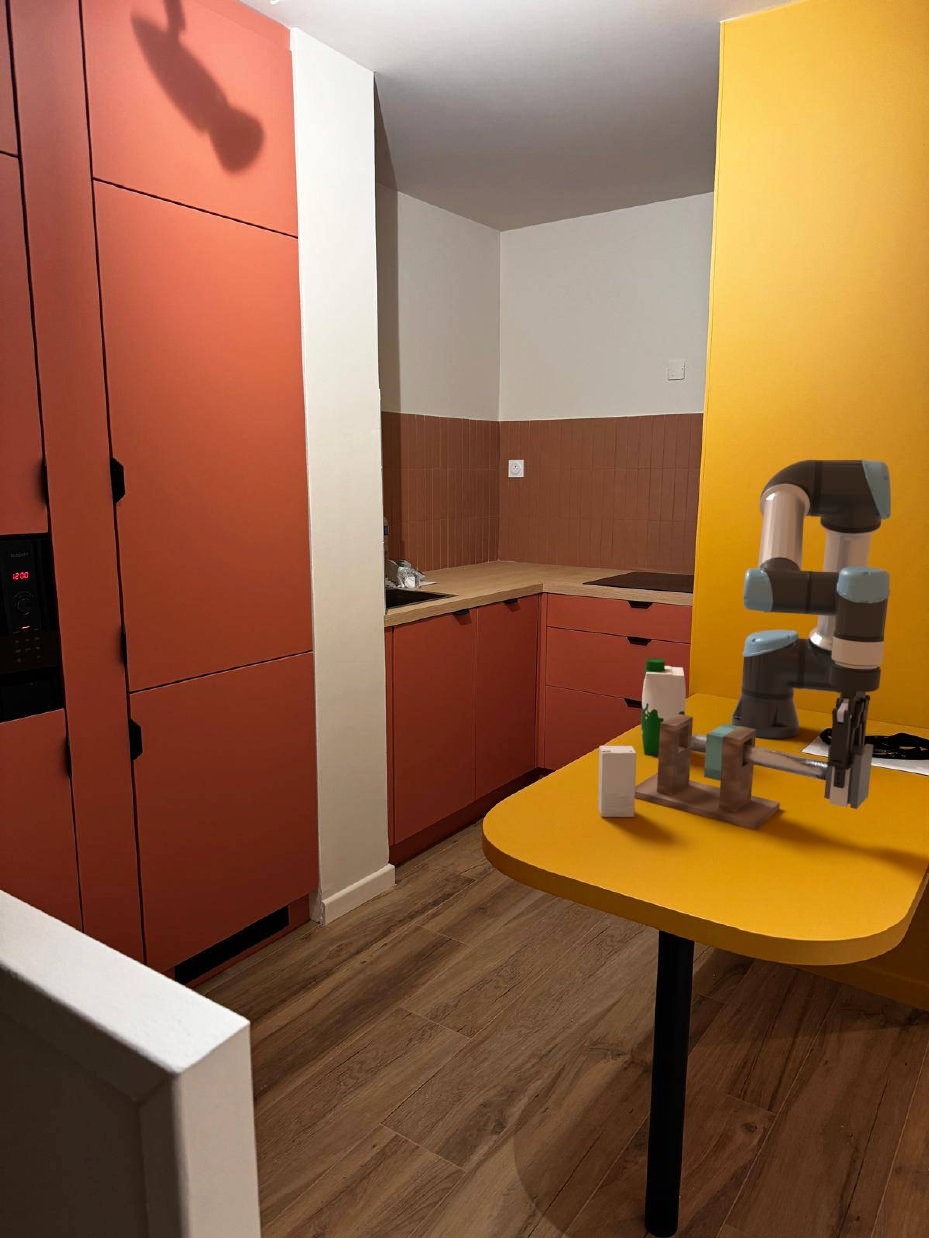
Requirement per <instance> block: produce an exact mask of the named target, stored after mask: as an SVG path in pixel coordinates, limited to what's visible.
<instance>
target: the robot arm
mask: <svg viewBox="0 0 929 1238" xmlns="http://www.w3.org/2000/svg"><path fill="white" fill-rule="evenodd" d="M890 476H891V475H890V469H889V467H888V465H887V464H886V462H884V461H881V460H866V459H823V460H822V459H805V460H801V461H797V462H795V463H792V464H790V465H787V466H786V467H784V468H782V469H781V470H779V471H778V472H776V474H774V475H773V476H772V477H771V478H770V479H769V480H768V482H767V483H766V484H765V486H764V487H763V489H762V491H761V494H760V498H759V505H758V506H759V512H760V514H761V516H762V527H761V536H760V545H759V553H758V554H759V555H758V562H757V565H758V566H757V567H756V568H748V569H746V571H745V573H744V575H745V576H744V585H743V600H742V601H743V607H744V609H747V610H749V611H757V612H764V613H766V614H767V613H776V614H777V613H778V614H781V613H782V614H799V615H809V616H810V615H811V616H814V615H815V616H818V618H817V626H816V627H813V629H811V630H810V632H809V635H808V638H801V637H800V635H799V632H798V631H796V630H791V629H790V630H787V629H771V630H761V631H756V632H753V633H751V634H749V635H748V636H747V637H746V638H745V641H744V649H743V652H742V656H743V665H742V678H741V691H740V696H739V699H738V700H737V703H736V706H735V708H734V711H733V713H732V716H731V721H730V722H731V723H730V725H733V726H738V727H739V726H742V727H747V728H752V729H756V737H758V738H766V739H788V738H792V737H795V736H797V735H799V732H800V719H799V717H798V716H799V715H798V712H797V709H796V705H795V700H794V698H795V697H794V696H795V695H794V694H795V693H794V692H795V690H796V689H797V690H809V691H818V692H828V693H829V692H830V693H831V692H832V693H837V694H839V697H837V698H836V702H835V707H833V709H832V710H831V713H832V714H831V717H832V718H831V719H832V725H831V736H830V737H831V738H830V745H831V747H830V759H829V762H827V765H828V766H832V767H833V768H832V779H831V789H830V799H828V800H829V802H828V804H831V805H835V806H838V807H843V808H847V807H848V806H849V804H848V798H849V787H850V777H851V768H850V760H851V753H852V746H853V744H857V745H863V746H865V739H866V730H867V722H868V721H867V720H868V712H869V706H870V701H871V695H869V694H867V693H872V692H873V693H874V692H875V691H877V690H879V688H880V684H881V683H880V682H881V676H882V675H881V672H882V669H881V666H879V665H881V664H883V658H884V650H885V649H884V647H885V629H886V622H887V612H888V602H889V596H890V595H891V589H890V588H891V587H890V582H891V581H890V580H891V576H890V573H889V572H888V571H887V570H886V569H881V568H879V567H868V563H869V556H870V550H871V549H870V548H871V540H872V535H873V534H874V533H876V532H877V531H879V530H880V529H881V526H882V520H884V521H885V520H888V519H890V518H891V510H892V495H891V493H892V491H891V477H890ZM806 517H812V518H814V517H815V518H819V519H820V520H819V525H820V526H821V528H822V529H824V530H825V531H826V539H825V549H824V550H825V551H824V560H823V569H822V571H813V570H803V568H802V567H803V548H804V547H803V545H804V544H803V543H804V523H805V522H804V519H806Z"/></svg>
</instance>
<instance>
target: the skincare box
mask: <svg viewBox="0 0 929 1238" xmlns="http://www.w3.org/2000/svg"><path fill="white" fill-rule="evenodd" d="M598 749H599V751H598V752H599V755H598V796H597V797H598V801H597V802H598V805H597V807H598V811H599V814H600V816H601V817H602V818H603V817H604V818H634V817H635V813H636V811H635V810H636V809H635V807H636V806H635V805H636V798H635V786H636V783H637V782H636V781H637V779H636V775H637V773H636V772H637V753H636V750H635V749H634V747H633V745H599V748H598Z"/></svg>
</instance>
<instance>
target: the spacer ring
mask: <svg viewBox="0 0 929 1238" xmlns="http://www.w3.org/2000/svg"><path fill="white" fill-rule="evenodd" d="M736 728H738V726H733V725H731V724H727V723H723V724H721V725H719V726H717V727H716V728H714V729H713V730H711V731H709V732H707V733H706V736H707V737H706V753H705V754H704V755H705V756H704V770H703V771H704V772H703V778H706V779H711V780H713V781H714V780H715V781H719V782H721V768H722V753H723V737H724V736H725V735H726V734H728V733H729V732H731V731H733V730H734V729H736Z"/></svg>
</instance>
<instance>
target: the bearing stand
mask: <svg viewBox="0 0 929 1238" xmlns="http://www.w3.org/2000/svg"><path fill="white" fill-rule="evenodd" d="M693 722H694V716H690V715H687V714H686V715H681V714H677V715H675V716H673V717H671V718H669V719H667V720H665V721H663V722H661V723H660V740H659V755H658V760H657V761H658V762H657V773H655V774H652V775H651V776H650V777H648V778H647V779H645V780H643V781H642V782H640V783H638V784H636V785H635V799H640V800H643V801H647V802H650V803H655V804H658V805H660V806H661V805H662V806H666V807H669V808H673V809H676V810H681V811H684V812H686V813H687V812H688V813H691V814H694V815H699V816H703V817H706V818H710V819H714V820H717V821H721V822H725V823H728V824H732V825H735V826H738V827H739V826H740V827H743V828H746V829H751V830H754V831H757V829H758V828H760V827H761V826H762V825H763V824H764V823H765V822H766V821H768V819H770V818H771V817H772V816H773V815H774V814H775V813H776V812H777V811H779V810H780V807H781V806H780V805H781V802H780V801H777V800H771V799H768V798H765V797H760V796H756V795H752V794H753V793H752V791H753V780H754V779H753V777H754V766H755V765H753V764H748V763H744V762H742V761H743V747H744V744H746V745H751V746H756V737H757V736H756V729H752V728H747V727H742V726H739V727H738V728H736V729H734V730H733V731H731V732H729V733H728V734H726V735H725V736H724V737H723V753H722V768H721V781H720V784H719V786H714V785H712V784H707V783H702V782H699V781H694V780H690V774H691V757H692V750H691V747H690V744H691V739H692V737H693V724H694V723H693Z"/></svg>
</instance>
